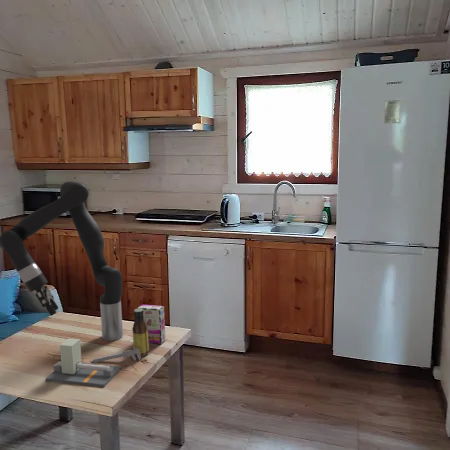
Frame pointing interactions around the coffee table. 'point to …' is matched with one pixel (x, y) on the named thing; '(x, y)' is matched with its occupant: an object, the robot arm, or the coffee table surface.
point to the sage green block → (70, 355)
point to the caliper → (120, 355)
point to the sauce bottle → (140, 332)
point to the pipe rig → (85, 374)
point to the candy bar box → (154, 323)
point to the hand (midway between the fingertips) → (55, 312)
